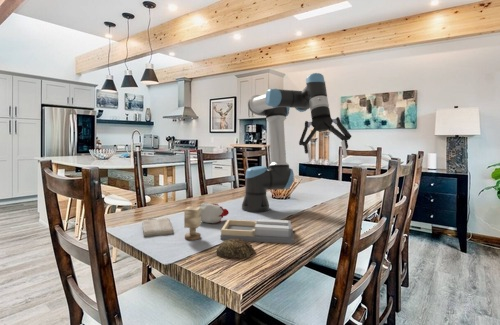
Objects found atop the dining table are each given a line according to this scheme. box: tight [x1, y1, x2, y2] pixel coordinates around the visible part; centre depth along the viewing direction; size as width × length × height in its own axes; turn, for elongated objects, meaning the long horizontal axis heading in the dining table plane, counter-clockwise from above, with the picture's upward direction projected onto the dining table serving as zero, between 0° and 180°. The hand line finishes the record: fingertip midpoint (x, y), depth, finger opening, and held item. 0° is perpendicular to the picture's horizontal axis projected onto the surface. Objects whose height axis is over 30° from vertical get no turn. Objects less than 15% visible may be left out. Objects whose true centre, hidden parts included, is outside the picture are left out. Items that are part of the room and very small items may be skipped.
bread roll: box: [215, 239, 256, 260], centre depth 99 cm, size 13×12×5 cm
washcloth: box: [141, 217, 175, 237], centre depth 122 cm, size 12×18×3 cm, turn 23°
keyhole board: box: [219, 218, 295, 245], centre depth 117 cm, size 28×16×5 cm, turn 84°
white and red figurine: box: [198, 202, 229, 224], centre depth 133 cm, size 9×11×15 cm
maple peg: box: [183, 206, 202, 241], centre depth 111 cm, size 6×6×12 cm
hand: (327, 159), depth 112 cm, fingers open, 13 cm apart
